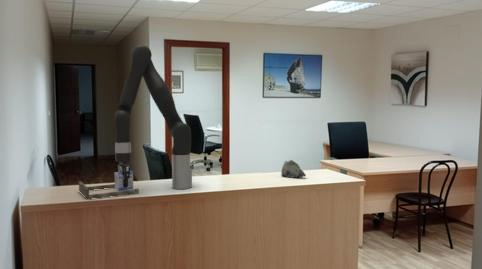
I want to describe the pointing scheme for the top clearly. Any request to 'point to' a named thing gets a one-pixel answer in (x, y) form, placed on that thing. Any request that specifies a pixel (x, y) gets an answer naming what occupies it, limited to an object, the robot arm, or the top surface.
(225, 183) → the top surface
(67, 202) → the top surface
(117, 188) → the medicine box
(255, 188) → the top surface
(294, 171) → the mineral rock
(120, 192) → the bay
